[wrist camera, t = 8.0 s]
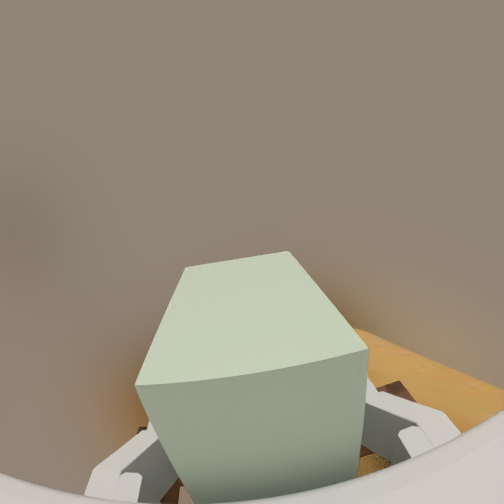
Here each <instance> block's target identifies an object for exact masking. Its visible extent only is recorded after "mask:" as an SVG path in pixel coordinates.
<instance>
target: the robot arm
mask: <svg viewBox="0 0 504 504" xmlns="http://www.w3.org/2000/svg"><path fill="white" fill-rule="evenodd" d="M361 444H362V445H363V446H365V447H366V448H368V449H370V450H371V451H373V452H375V453H376V454H378V455H379V456H381V457H383V458H384V459H386V460H388V461H389V462H391V464H390V467H387V468H385V469H382V470H379V471H376V472H373V473H370V474H367V475H364V476H361V477H358V478H355V479H351V480H348V481H345V482H341V483H337V484H334V485H330V486H326V487H322V488H318V489H313V490H309V491H304V492H299V493H294V494H289V495H283V496H277V497H271V498H264V499H257V500H248V501H239V502H227V503H211V504H504V409H502V410H501V411H499V412H498V413H496V414H495V415H493V416H492V417H490V418H488V419H487V420H485V421H483V422H482V423H480V424H478V425H477V426H475V427H473V428H471V429H470V430H468V431H466V432H464V433H462V434H461V433H460V432H459V430H458V429H457V428H456V427H455V425H454V424H453V423H452V422H451V421H450V420H449V418H448V417H447V416H446V415H445V414H444V412H442V411H439V410H436V409H433V408H430V407H427V406H424V405H421V404H418V403H415V402H412V401H409V400H406V399H403V398H400V397H398V396H395V395H392V394H389V393H386V392H384V391H381V392H378V391H377V389H376V388H375V386H374V385H373V383H372V382H371V381H370V379H369V378H368V376H367V389H366V402H365V413H364V423H363V432H362V440H361ZM178 478H179V476H178V474H177V472H176V471H175V469H174V467H173V465H172V463H171V462H170V460H169V458H168V456H167V454H166V452H165V450H164V448H163V446H162V444H161V442H160V440H159V438H158V436H157V434H156V432H155V430H154V428H153V426H152V424H151V422H150V420H149V424H148V427H147V430H142V431H141V432H140V433H139V434H137V435H136V436H135V437H134V438H132V439H131V440H130V441H129V442H127V443H126V444H125V445H123V446H122V447H121V448H120V449H118V450H117V451H116V452H115V453H113V454H112V455H111V456H109V457H108V458H107V459H105V460H104V461H103V462H102V463H100V464H99V465H98V466H96V467H95V468H94V469H93V472H92V475H91V477H90V480H89V483H88V486H87V488H86V491H85V494H84V495H79V494H74V493H69V492H65V491H60V490H56V489H52V488H47V487H44V486H40V485H36V484H33V483H30V482H26V481H23V480H20V479H17V478H14V477H11V476H8V475H5V474H2V473H0V504H162V503H161V502H160V500H161V499H162V498H163V496H164V495H165V494H166V493H167V491H168V490H169V489H170V488H171V486H172V485H173V484H174V483H175V481H176V480H177V479H178Z"/></svg>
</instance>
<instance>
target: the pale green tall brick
mask: <svg viewBox="0 0 504 504" xmlns="http://www.w3.org/2000/svg"><path fill="white" fill-rule="evenodd" d="M368 351H369V348H368V347H367V346H366V345H365V343H364V342H363V341H362V340H361V338H360V337H359V336H358V335H357V333H356V332H355V331H354V330H353V328H352V327H351V326H350V325H349V324H348V322H347V321H346V320H345V319H344V317H343V316H342V315H341V314H340V313H339V311H338V310H337V309H336V308H335V306H334V305H333V304H332V303H331V302H330V300H329V299H328V298H327V297H326V295H325V294H324V293H323V292H322V291H321V289H320V288H319V287H318V286H317V284H316V283H315V282H314V281H313V280H312V278H310V276H309V275H308V274H307V273H306V271H305V270H304V269H303V268H302V267H301V265H300V264H299V263H298V262H297V260H296V259H295V258H294V257H293V256H292V255H291V253H290V252H289V251H285V252H279V253H273V254H266V255H260V256H254V257H248V258H242V259H236V260H230V261H224V262H217V263H211V264H204V265H198V266H192V267H186V268H185V270H184V272H183V275H182V277H181V279H180V281H179V284H178V286H177V288H176V290H175V292H174V294H173V297H172V299H171V301H170V303H169V306H168V308H167V310H166V312H165V315H164V317H163V319H162V322H161V324H160V326H159V328H158V330H157V333H156V335H155V337H154V340H153V342H152V344H151V347H150V349H149V352H148V354H147V357H146V359H145V361H144V363H143V366H142V368H141V371H140V373H139V376H138V378H137V381H136V383H135V388H136V390H137V392H138V395H139V397H140V400H141V402H142V404H143V406H144V409H145V411H146V413H147V415H148V417H149V420H150V422H151V424H152V426H153V428H154V430H155V432H156V434H157V436H158V438H159V440H160V442H161V444H162V446H163V448H164V450H165V452H166V454H167V456H168V458H169V460H170V462H171V463H172V465H173V467H174V469H175V471H176V472H177V474H178V476H179V478H180V479H181V481H182V483H183V485H184V486H185V488H186V490H187V491H188V493H189V494H190V496H191V498H192V499H193V501H194V503H195V504H211V503H227V502H239V501H248V500H257V499H264V498H271V497H277V496H283V495H289V494H294V493H299V492H304V491H309V490H313V489H318V488H322V487H326V486H330V485H334V484H337V483H341V482H345V481H348V480H351V479H355V478H356V475H357V469H358V463H359V456H360V448H361V440H362V432H363V423H364V413H365V402H366V389H367V373H368Z"/></svg>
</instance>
